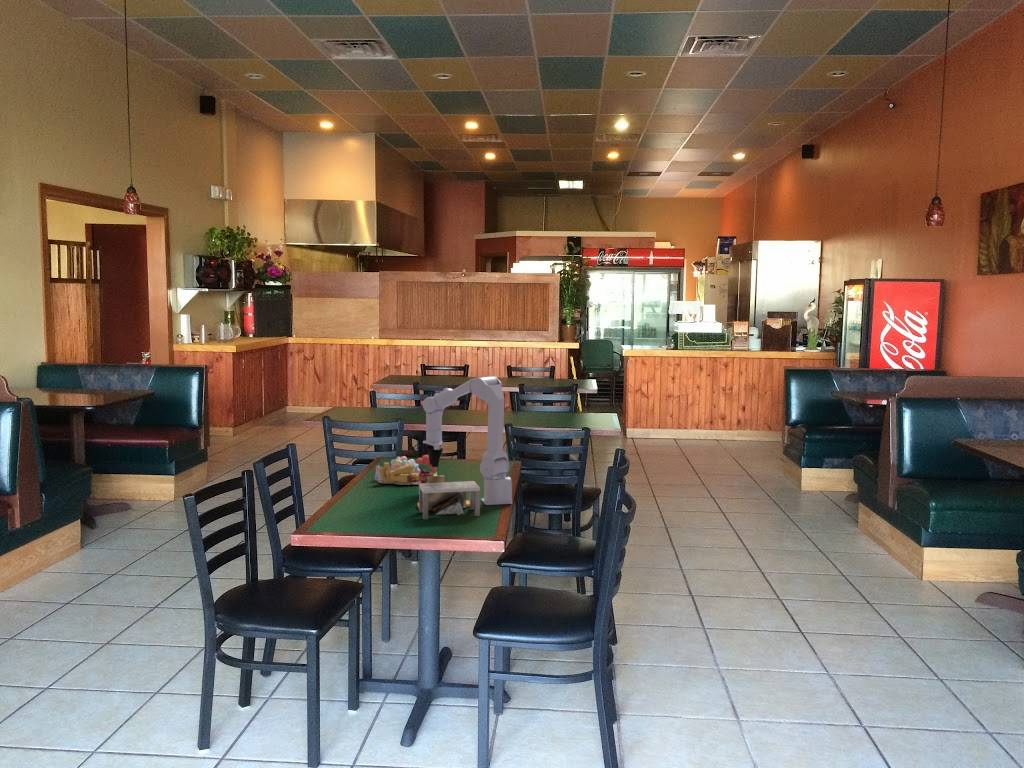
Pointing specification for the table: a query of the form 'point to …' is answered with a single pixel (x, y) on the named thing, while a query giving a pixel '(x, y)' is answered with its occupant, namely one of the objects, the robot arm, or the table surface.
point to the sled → (436, 496)
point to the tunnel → (449, 487)
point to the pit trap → (466, 504)
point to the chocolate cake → (448, 504)
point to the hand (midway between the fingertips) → (434, 465)
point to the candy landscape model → (404, 471)
